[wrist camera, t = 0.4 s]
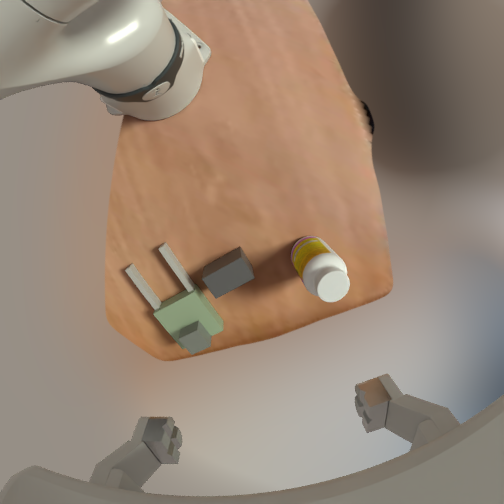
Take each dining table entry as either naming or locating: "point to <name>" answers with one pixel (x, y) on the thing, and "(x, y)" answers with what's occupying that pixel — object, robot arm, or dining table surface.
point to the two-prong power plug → (182, 308)
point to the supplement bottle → (320, 269)
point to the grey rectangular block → (228, 272)
